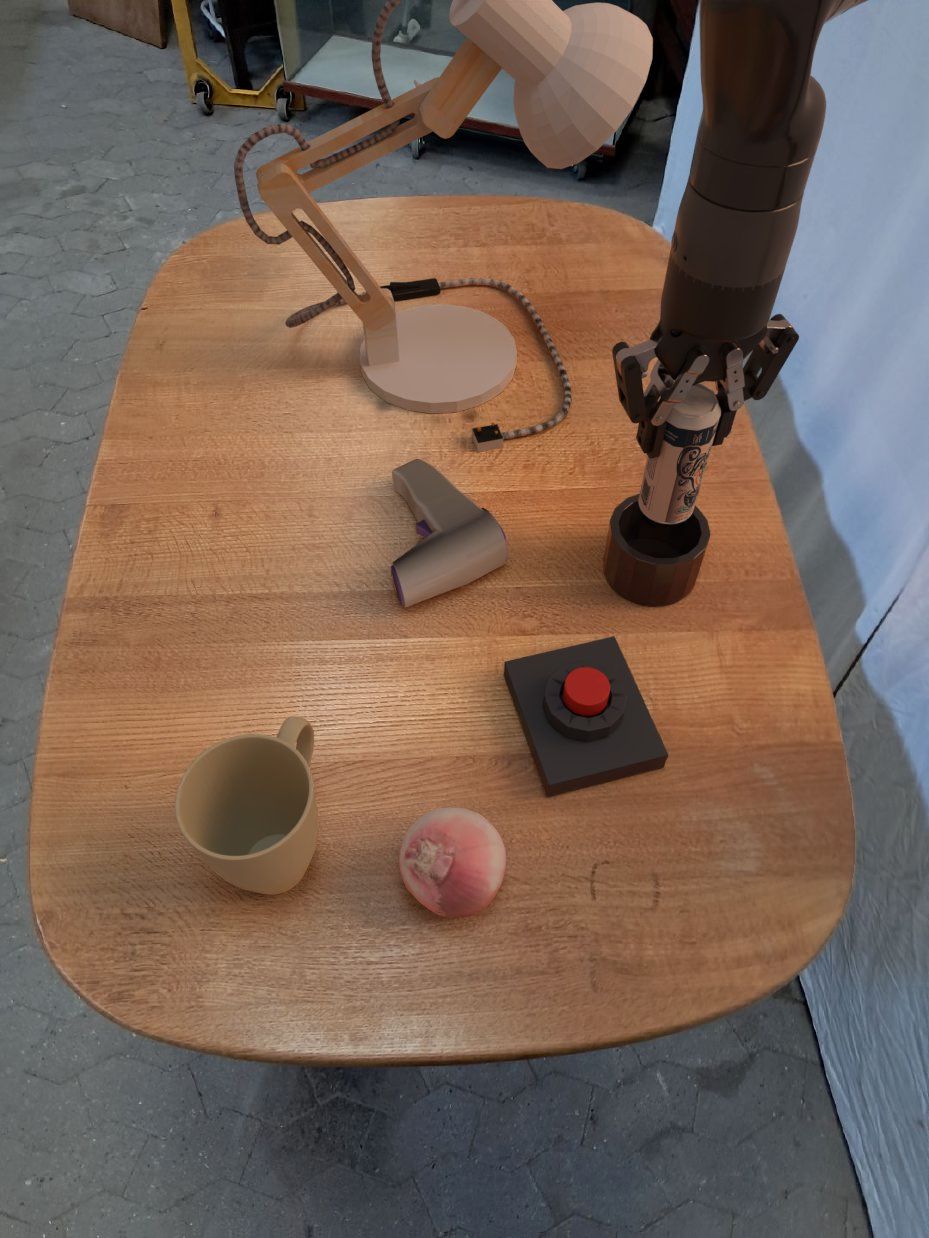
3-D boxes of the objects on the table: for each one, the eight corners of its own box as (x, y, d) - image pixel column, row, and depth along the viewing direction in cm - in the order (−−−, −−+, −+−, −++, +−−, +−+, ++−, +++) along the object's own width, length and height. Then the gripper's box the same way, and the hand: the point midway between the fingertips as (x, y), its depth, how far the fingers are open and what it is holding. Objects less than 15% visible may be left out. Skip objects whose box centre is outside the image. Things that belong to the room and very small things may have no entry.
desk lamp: (646, 421, 98) (730, -1, 66) (298, 484, 93) (206, 58, 61) (559, 265, 116) (593, -128, 84) (264, 310, 111) (178, -91, 78)
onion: (381, 865, 69) (373, 826, 63) (462, 807, 71) (461, 765, 66) (445, 950, 65) (442, 917, 59) (527, 886, 68) (533, 848, 62)
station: (664, 767, 73) (672, 743, 70) (546, 797, 72) (550, 774, 69) (611, 650, 80) (617, 623, 77) (503, 675, 79) (504, 649, 76)
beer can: (680, 535, 77) (711, 427, 67) (628, 515, 78) (651, 406, 69) (700, 500, 79) (732, 390, 70) (650, 481, 81) (674, 371, 71)
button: (614, 710, 73) (616, 699, 71) (571, 721, 72) (573, 709, 71) (598, 674, 75) (600, 662, 73) (556, 684, 74) (558, 672, 73)
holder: (715, 569, 86) (729, 526, 81) (657, 623, 82) (669, 581, 77) (641, 521, 90) (651, 477, 85) (583, 570, 86) (590, 527, 81)
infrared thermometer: (430, 480, 94) (516, 565, 86) (328, 530, 90) (408, 623, 82) (427, 446, 91) (516, 530, 83) (320, 496, 87) (403, 590, 79)
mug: (360, 894, 67) (342, 828, 58) (228, 940, 65) (186, 879, 56) (324, 769, 74) (302, 690, 64) (202, 808, 72) (160, 732, 62)
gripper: (649, 300, 56) (614, 494, 70) (857, 264, 58) (783, 459, 72) (606, 236, 60) (581, 431, 74) (801, 205, 63) (742, 400, 76)
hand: (681, 444), depth 73 cm, fingers closed on beer can, 4 cm apart
